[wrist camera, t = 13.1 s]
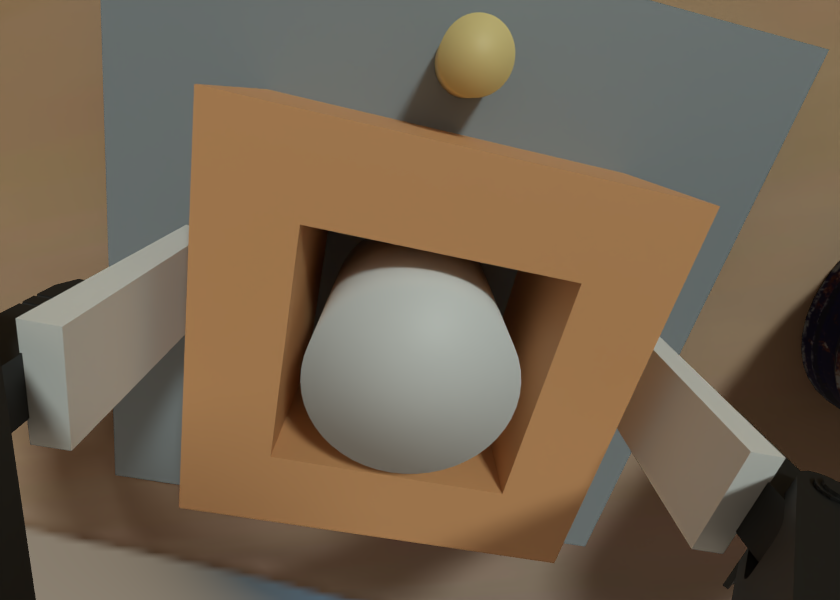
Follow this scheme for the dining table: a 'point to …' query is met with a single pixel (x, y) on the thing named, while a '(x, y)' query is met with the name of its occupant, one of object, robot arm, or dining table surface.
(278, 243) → the square frame
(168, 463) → the post board
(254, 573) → the dining table surface
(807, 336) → the storage jar
